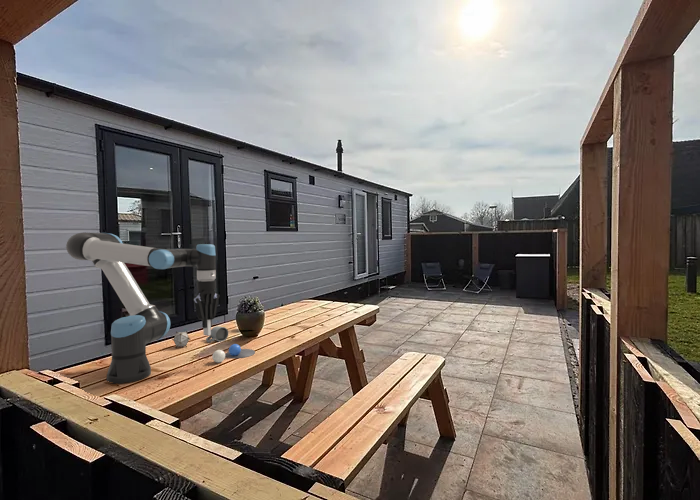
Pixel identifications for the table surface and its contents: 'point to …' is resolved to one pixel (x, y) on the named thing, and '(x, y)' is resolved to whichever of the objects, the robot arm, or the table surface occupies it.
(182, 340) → the grey spiked polyhedron
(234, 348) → the blue ball
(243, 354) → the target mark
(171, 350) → the table surface
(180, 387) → the table surface
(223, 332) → the ceramic mug
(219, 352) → the white ball
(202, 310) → the robot arm
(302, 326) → the table surface
